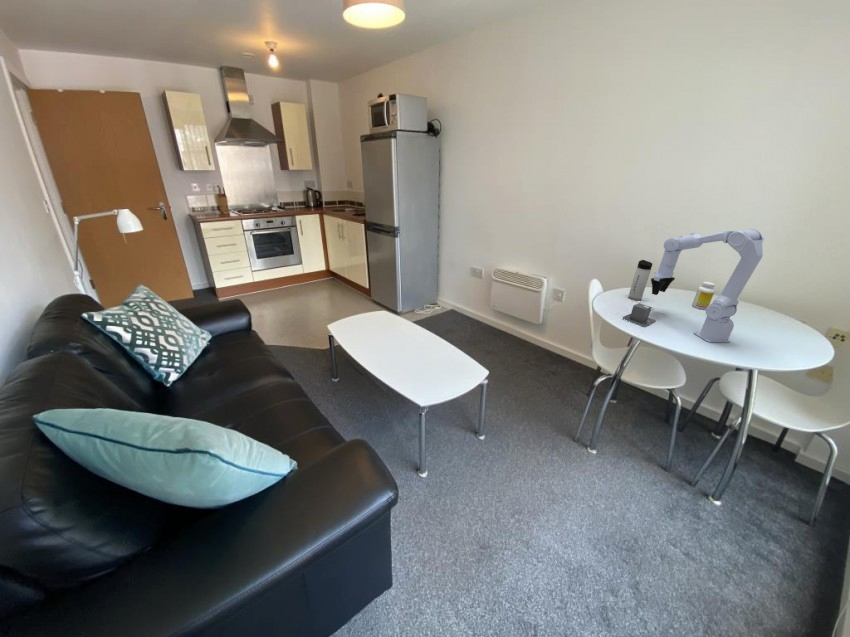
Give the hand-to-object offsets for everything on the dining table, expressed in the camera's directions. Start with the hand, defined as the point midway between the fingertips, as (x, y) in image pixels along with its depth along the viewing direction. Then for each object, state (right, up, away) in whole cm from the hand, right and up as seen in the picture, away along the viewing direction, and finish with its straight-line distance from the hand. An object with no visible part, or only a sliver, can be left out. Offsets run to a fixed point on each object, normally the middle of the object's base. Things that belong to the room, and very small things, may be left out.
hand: (658, 292), depth 164 cm
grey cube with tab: (-12, -12, -4) cm, 17 cm away
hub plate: (-12, -13, -4) cm, 18 cm away
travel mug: (+2, -1, +22) cm, 22 cm away
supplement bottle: (+30, -6, +14) cm, 33 cm away
